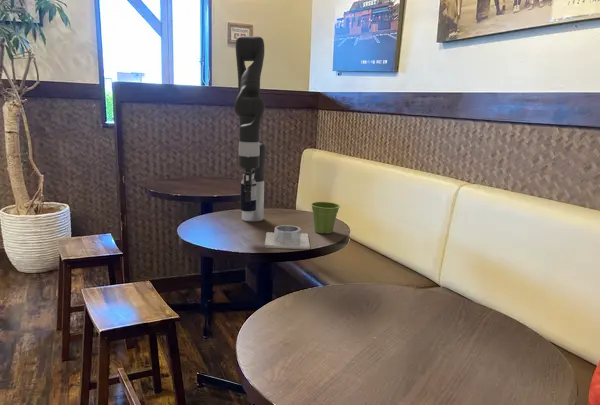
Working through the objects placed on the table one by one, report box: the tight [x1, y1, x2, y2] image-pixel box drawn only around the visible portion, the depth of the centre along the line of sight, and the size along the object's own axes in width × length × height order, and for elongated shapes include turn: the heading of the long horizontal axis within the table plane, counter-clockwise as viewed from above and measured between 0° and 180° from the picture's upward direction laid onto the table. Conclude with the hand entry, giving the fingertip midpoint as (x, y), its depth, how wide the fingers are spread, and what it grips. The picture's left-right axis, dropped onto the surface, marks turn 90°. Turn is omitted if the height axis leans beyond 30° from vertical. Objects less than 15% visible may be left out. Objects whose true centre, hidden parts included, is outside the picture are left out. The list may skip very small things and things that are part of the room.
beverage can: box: [240, 178, 256, 213], centre depth 167 cm, size 6×6×12 cm
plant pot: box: [310, 201, 341, 235], centre depth 183 cm, size 12×12×11 cm
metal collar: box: [264, 224, 311, 250], centre depth 168 cm, size 16×16×5 cm
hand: (248, 199), depth 167 cm, fingers closed on beverage can, 5 cm apart
